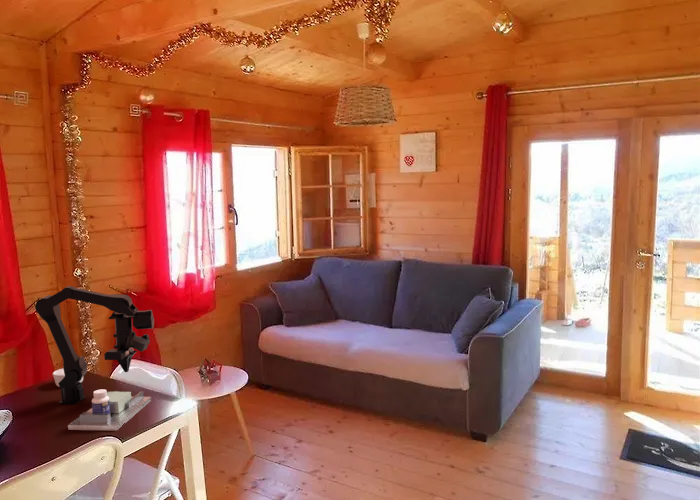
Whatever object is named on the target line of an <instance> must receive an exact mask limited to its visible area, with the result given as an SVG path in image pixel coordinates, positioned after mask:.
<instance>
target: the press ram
mask: <svg viewBox="0 0 700 500" xmlns="http://www.w3.org/2000/svg"><path fill="white" fill-rule="evenodd" d="M106 396H108V397H109V402H110V413H120V412H121V411H122V410H124V409H125V408H126V402H128V401H129V400H130V399H131V397H132V392H131V391H118V392H114V391H107V395H106Z"/></svg>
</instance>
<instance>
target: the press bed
mask: <svg viewBox="0 0 700 500" xmlns="http://www.w3.org/2000/svg"><path fill="white" fill-rule="evenodd" d="M113 392H119V391H118V390H114V391H113ZM151 401H152V396H145V395H144V390H143V391H141V390H140V391H139V392H138V393H137V394H135V395H134V396H131V399H130V400H129V401H128V402H126V408H125V409H124V410H122V411H121V412H120V413H98V412H92V407H91V408H89V409H88V410H87V411H83V412H82V413H80V414H79V417H77V418H76V419H74V420H73V421H71V422H70V423H68V425H67V428H68V429H67V430H68V431H69V430H71V431H73V430H74V431H112V432H113V431H118V430H119V429H121V428H122V427H123V426H124V425H125V424H126V423H127V422H128V421H130V420H131V419H132V418H133V417H134V416H135V415H136V414H137V413H139V412H140V411H142V410H143V409H144V408H145V407H146V406H147V405H148V404H149V403H151ZM124 423H125V424H124ZM123 424H124V425H123ZM122 425H123V426H122Z"/></svg>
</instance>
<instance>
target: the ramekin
mask: <svg viewBox="0 0 700 500" xmlns="http://www.w3.org/2000/svg"><path fill="white" fill-rule="evenodd" d="M52 376H53V379H54V382H55V383H54V384H55V385H56V386H57V387H59V388H60V386H59V382H60V381H61V380H62V379H63V378H64V377H65V374H64V369H63V368H59V369H57V370H54V371H53V372H52ZM84 376H85V375H84ZM84 376H83V377H82V379H81V380H80V381H79V382H80V383H83V381H84Z"/></svg>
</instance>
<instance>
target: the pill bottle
mask: <svg viewBox="0 0 700 500" xmlns="http://www.w3.org/2000/svg"><path fill="white" fill-rule="evenodd" d="M92 392H93V398H92V399H91V408H92V412H98V413H110V402H109V397H108V396H106V395H107V393H108V391H107V389H97V390H94V391H92Z"/></svg>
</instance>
